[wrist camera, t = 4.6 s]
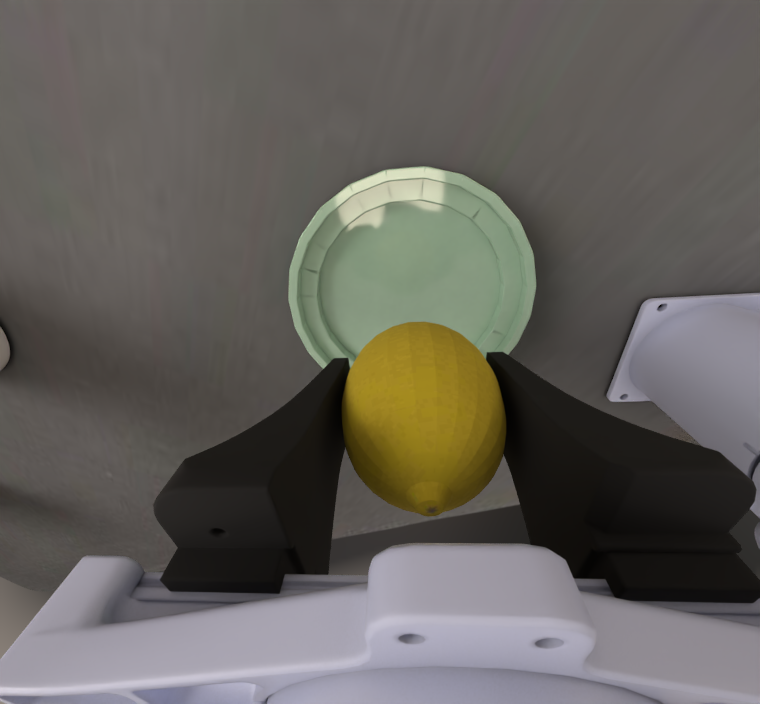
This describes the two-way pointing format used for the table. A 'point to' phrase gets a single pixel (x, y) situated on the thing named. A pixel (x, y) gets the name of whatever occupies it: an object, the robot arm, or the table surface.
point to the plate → (411, 264)
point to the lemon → (423, 418)
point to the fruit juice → (4, 349)
